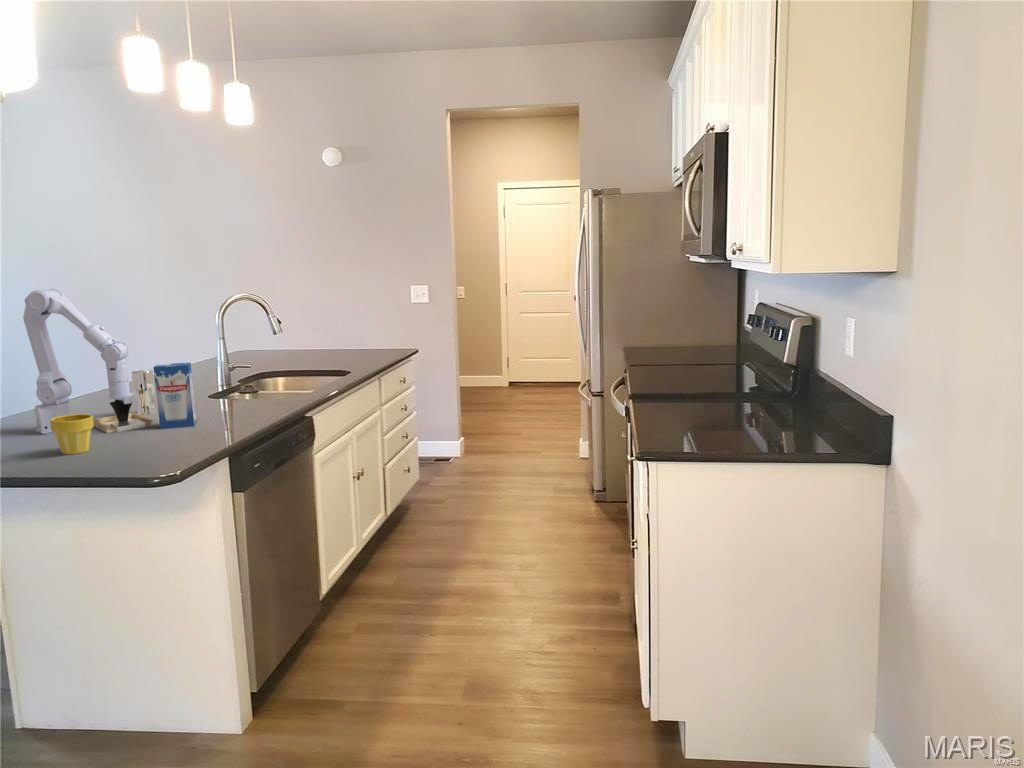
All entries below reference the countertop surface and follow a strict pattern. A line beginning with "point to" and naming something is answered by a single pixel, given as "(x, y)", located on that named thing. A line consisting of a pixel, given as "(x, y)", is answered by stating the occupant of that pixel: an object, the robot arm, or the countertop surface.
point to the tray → (106, 421)
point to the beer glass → (144, 391)
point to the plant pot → (73, 432)
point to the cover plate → (127, 425)
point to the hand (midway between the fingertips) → (123, 423)
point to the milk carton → (175, 395)
